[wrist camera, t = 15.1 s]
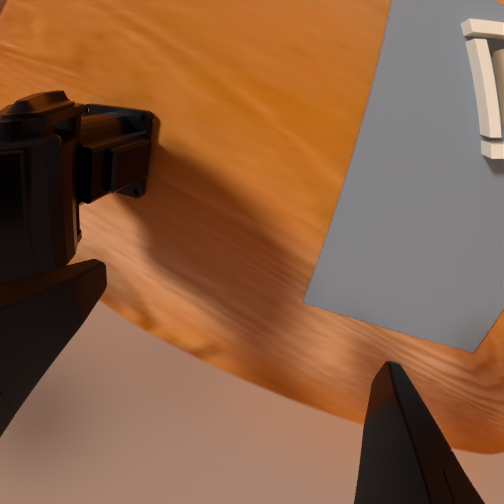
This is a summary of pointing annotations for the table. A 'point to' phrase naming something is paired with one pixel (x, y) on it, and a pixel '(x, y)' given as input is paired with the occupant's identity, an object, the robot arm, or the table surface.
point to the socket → (485, 82)
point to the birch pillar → (499, 77)
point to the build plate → (420, 189)
